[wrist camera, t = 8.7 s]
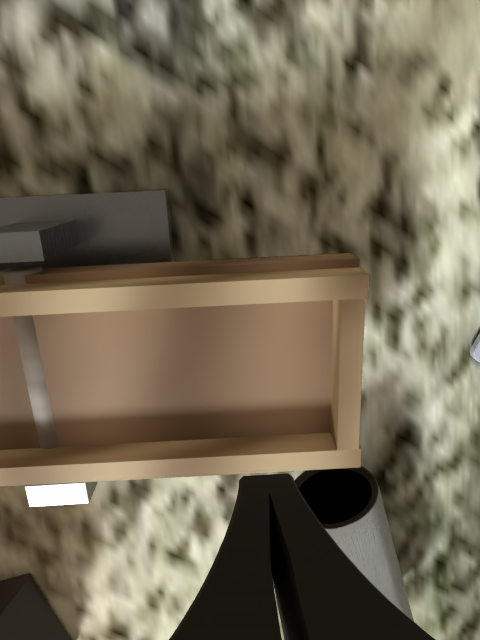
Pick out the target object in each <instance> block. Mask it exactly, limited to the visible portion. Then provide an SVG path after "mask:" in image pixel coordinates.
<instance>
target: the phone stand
mask: <svg viewBox="0 0 480 640" xmlns="http://www.w3.org/2000/svg"><path fill="white" fill-rule="evenodd" d="M0 640H70V638H69V637H68V635H67V633H66V632H65V630H64V629H63V627H62V625H61V624H60V622H59V621H58V619H57V617H56V616H55V614H54V613H53V611H52V609H51V608H50V606H49V604H48V603H47V601H46V600H45V598H44V596H43V595H42V593H41V592H40V590H39V588H38V587H37V585H36V584H35V582H34V580H33V579H32V577H31V576H30V574H24V575H20V576H17V577H13V578H10V579H7V580H3V581H0Z"/></svg>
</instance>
